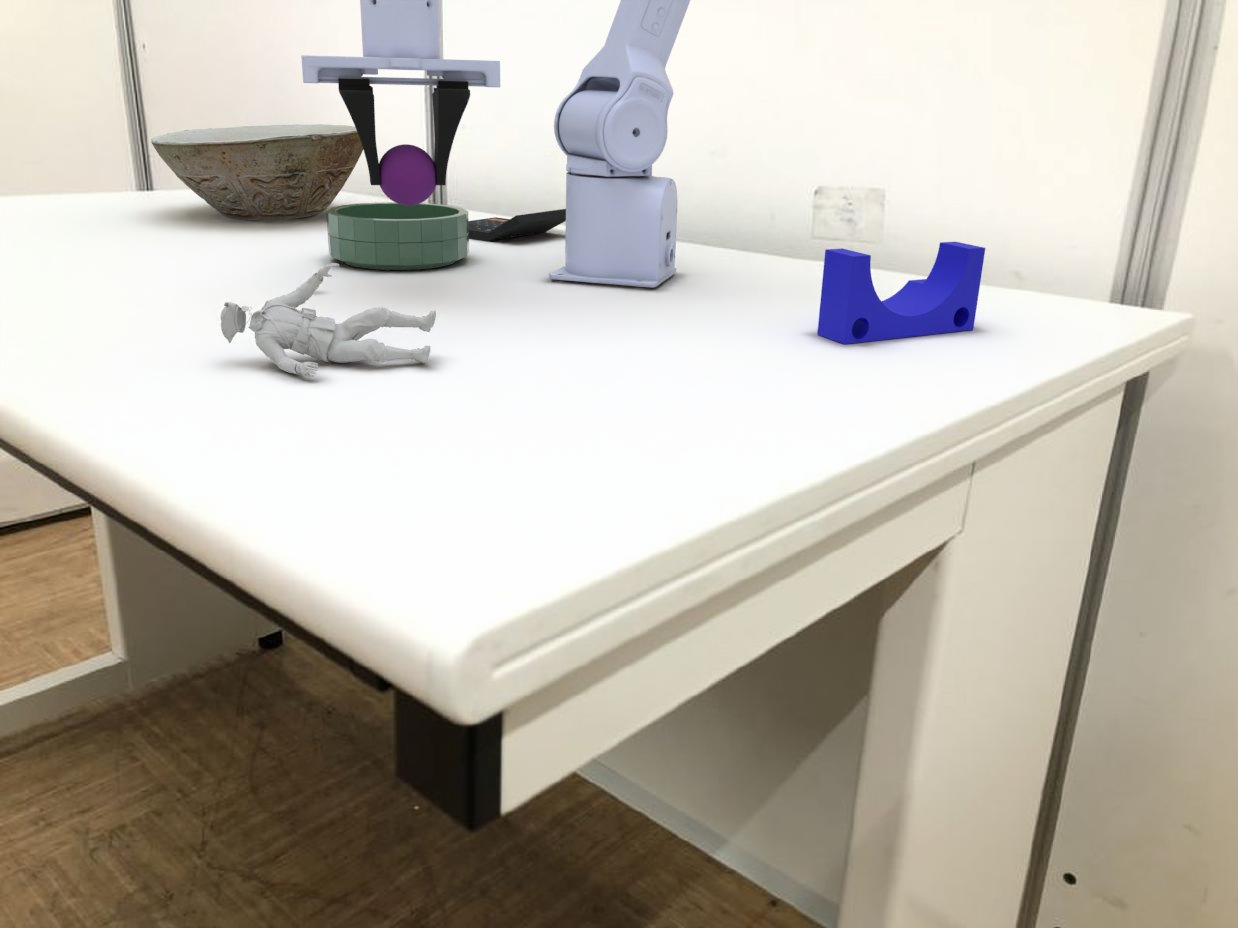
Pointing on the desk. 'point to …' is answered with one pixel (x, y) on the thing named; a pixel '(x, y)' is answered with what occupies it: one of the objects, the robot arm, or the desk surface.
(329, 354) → the soldier figure
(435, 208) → the green bowl
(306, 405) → the desk surface
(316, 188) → the bowl
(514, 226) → the calculator
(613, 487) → the desk surface
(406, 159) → the ball
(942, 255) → the blue pipe saddle bracket
